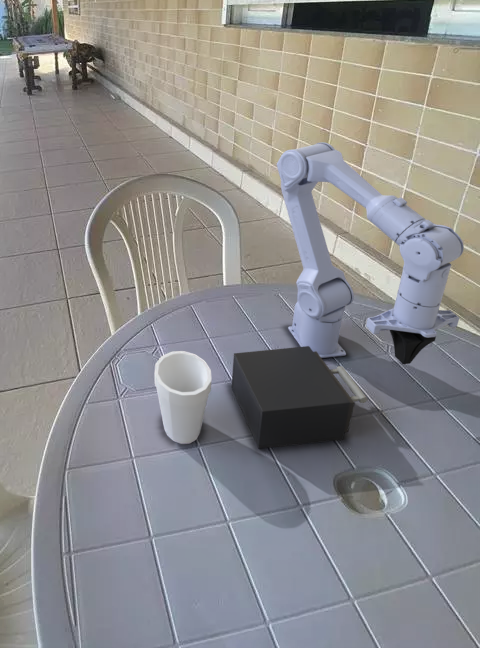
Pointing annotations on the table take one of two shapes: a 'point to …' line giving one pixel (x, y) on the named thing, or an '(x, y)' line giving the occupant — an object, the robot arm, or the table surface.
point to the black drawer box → (288, 397)
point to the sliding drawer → (350, 383)
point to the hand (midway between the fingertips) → (402, 359)
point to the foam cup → (182, 394)
